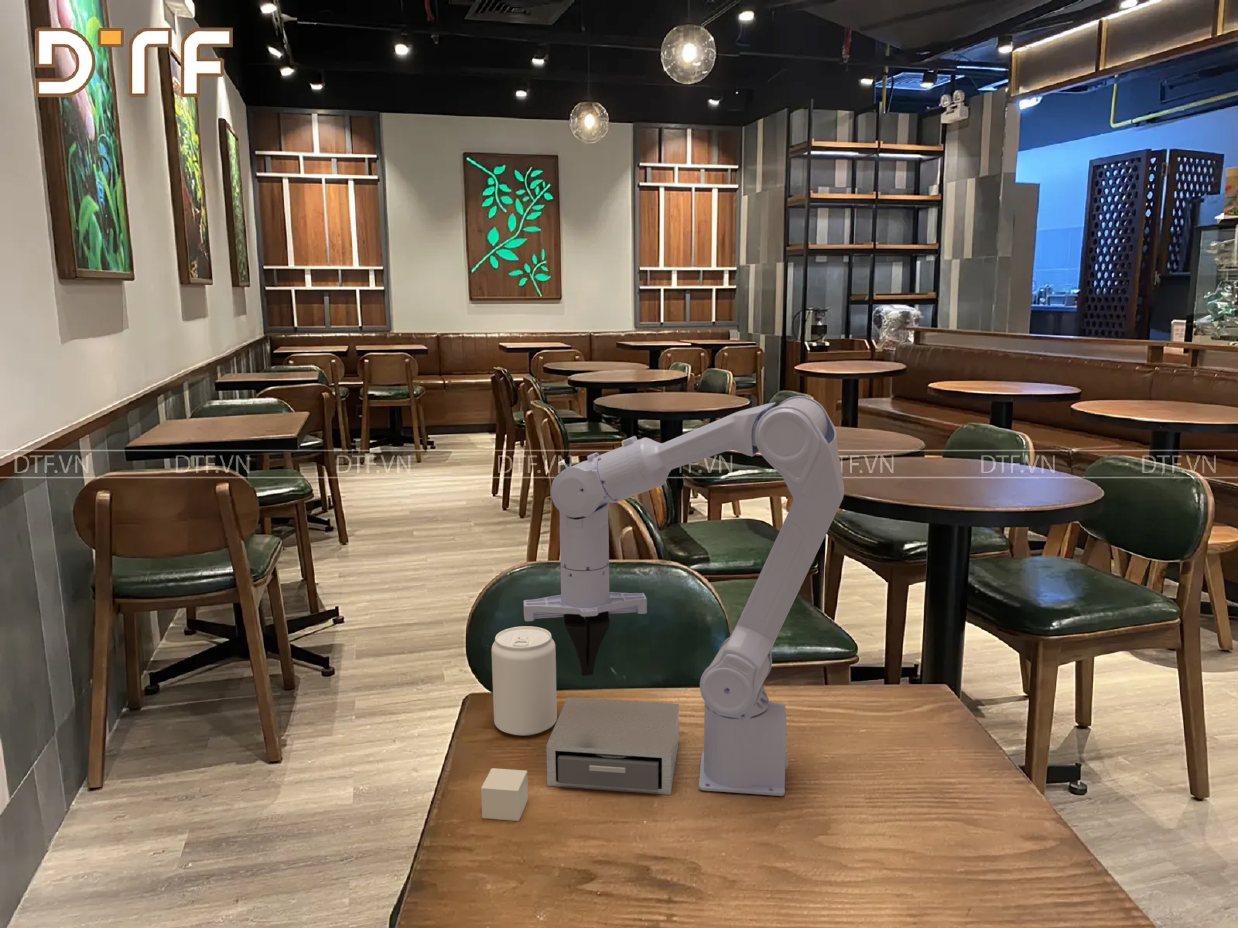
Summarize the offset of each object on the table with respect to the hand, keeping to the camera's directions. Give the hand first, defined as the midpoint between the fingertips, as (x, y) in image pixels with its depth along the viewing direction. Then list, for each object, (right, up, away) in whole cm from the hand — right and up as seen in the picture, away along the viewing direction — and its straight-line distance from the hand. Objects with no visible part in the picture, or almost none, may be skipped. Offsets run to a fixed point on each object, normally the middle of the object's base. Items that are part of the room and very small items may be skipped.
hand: (586, 672), depth 105 cm
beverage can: (-8, -9, +8) cm, 14 cm away
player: (+4, -10, -2) cm, 11 cm away
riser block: (-8, -12, -11) cm, 18 cm away
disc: (+3, -9, -3) cm, 10 cm away
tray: (+3, -10, -3) cm, 11 cm away
